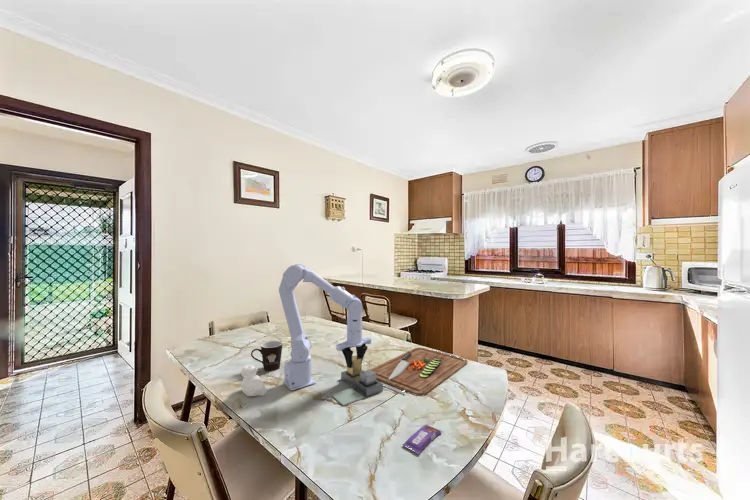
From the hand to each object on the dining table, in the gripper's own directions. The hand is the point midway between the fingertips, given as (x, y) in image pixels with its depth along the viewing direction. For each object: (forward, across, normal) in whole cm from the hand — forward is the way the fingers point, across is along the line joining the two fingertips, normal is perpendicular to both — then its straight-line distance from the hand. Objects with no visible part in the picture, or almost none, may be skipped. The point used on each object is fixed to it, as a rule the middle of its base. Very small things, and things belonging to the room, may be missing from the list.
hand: (354, 365), depth 107 cm
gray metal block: (+6, 0, -9) cm, 11 cm away
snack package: (+6, -4, -39) cm, 40 cm away
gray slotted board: (+5, 0, -5) cm, 7 cm away
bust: (+6, -34, +12) cm, 36 cm away
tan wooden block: (+3, 0, 0) cm, 3 cm away
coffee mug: (+6, -23, +31) cm, 39 cm away
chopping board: (+6, +28, -7) cm, 30 cm away
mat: (+5, -8, -9) cm, 14 cm away
